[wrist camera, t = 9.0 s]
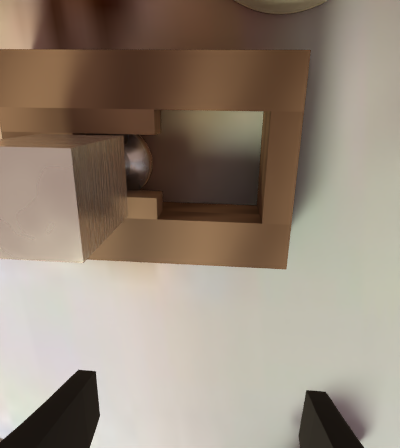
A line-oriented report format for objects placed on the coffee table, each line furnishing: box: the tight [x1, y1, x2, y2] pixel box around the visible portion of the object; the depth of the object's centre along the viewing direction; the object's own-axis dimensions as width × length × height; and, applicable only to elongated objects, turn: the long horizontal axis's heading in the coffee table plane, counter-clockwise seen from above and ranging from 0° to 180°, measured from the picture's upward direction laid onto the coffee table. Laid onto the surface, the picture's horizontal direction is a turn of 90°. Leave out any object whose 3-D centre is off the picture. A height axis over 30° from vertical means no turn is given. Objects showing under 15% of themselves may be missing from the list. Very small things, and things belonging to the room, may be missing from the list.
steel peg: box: [0, 133, 152, 263], centre depth 15 cm, size 4×4×10 cm
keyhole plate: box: [0, 49, 311, 269], centre depth 17 cm, size 14×10×3 cm
